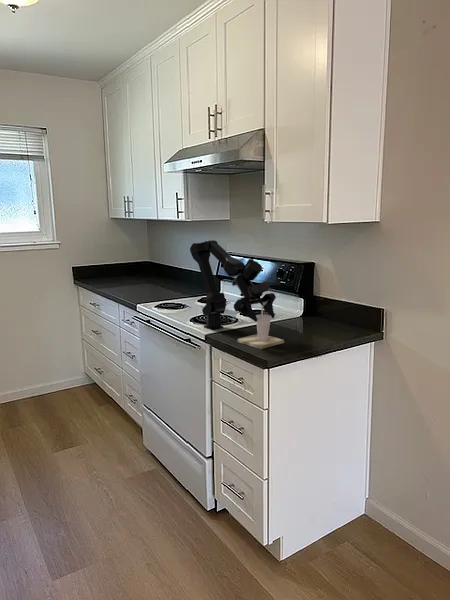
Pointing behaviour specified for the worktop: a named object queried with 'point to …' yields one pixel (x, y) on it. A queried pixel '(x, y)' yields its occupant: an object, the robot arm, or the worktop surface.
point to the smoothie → (263, 325)
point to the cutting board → (256, 343)
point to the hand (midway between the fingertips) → (265, 319)
